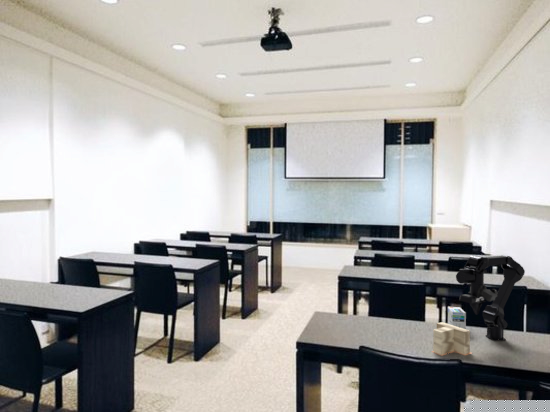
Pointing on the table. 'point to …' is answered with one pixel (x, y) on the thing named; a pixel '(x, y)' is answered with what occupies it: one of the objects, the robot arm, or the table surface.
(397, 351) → the table surface
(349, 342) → the table surface
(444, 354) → the t mark
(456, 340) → the beige stepped block
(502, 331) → the robot arm
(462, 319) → the light bulb box
